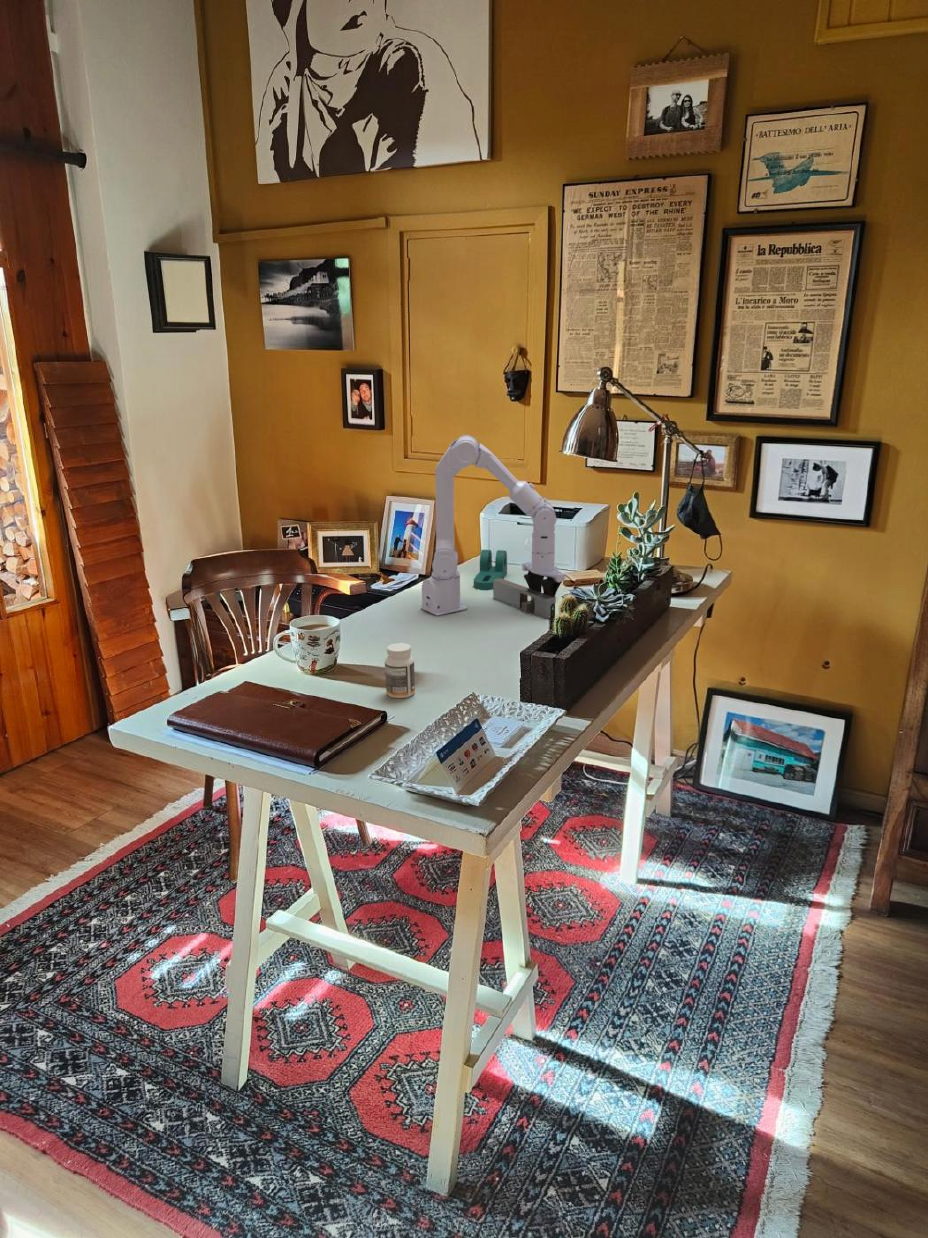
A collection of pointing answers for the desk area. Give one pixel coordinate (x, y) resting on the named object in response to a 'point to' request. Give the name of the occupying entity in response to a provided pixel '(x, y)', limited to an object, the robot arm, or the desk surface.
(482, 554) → the bracket
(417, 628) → the desk surface
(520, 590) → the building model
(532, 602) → the plug
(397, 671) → the pill bottle
